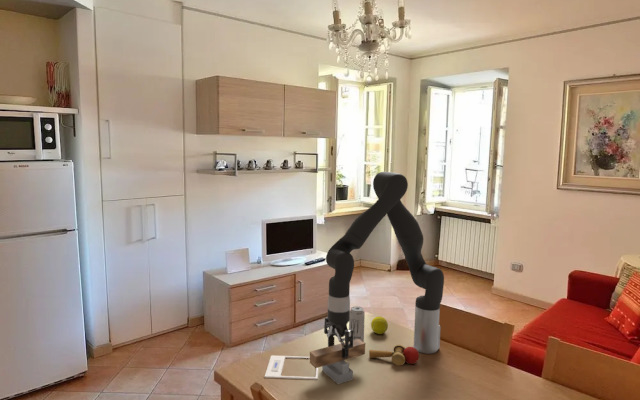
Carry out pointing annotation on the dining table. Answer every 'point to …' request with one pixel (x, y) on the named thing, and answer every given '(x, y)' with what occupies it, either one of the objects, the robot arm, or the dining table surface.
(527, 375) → the dining table surface
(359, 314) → the energy drink can
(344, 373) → the fulcrum
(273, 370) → the photo frame
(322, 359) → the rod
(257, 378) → the dining table surface
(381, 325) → the tennis ball
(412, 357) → the kendama
